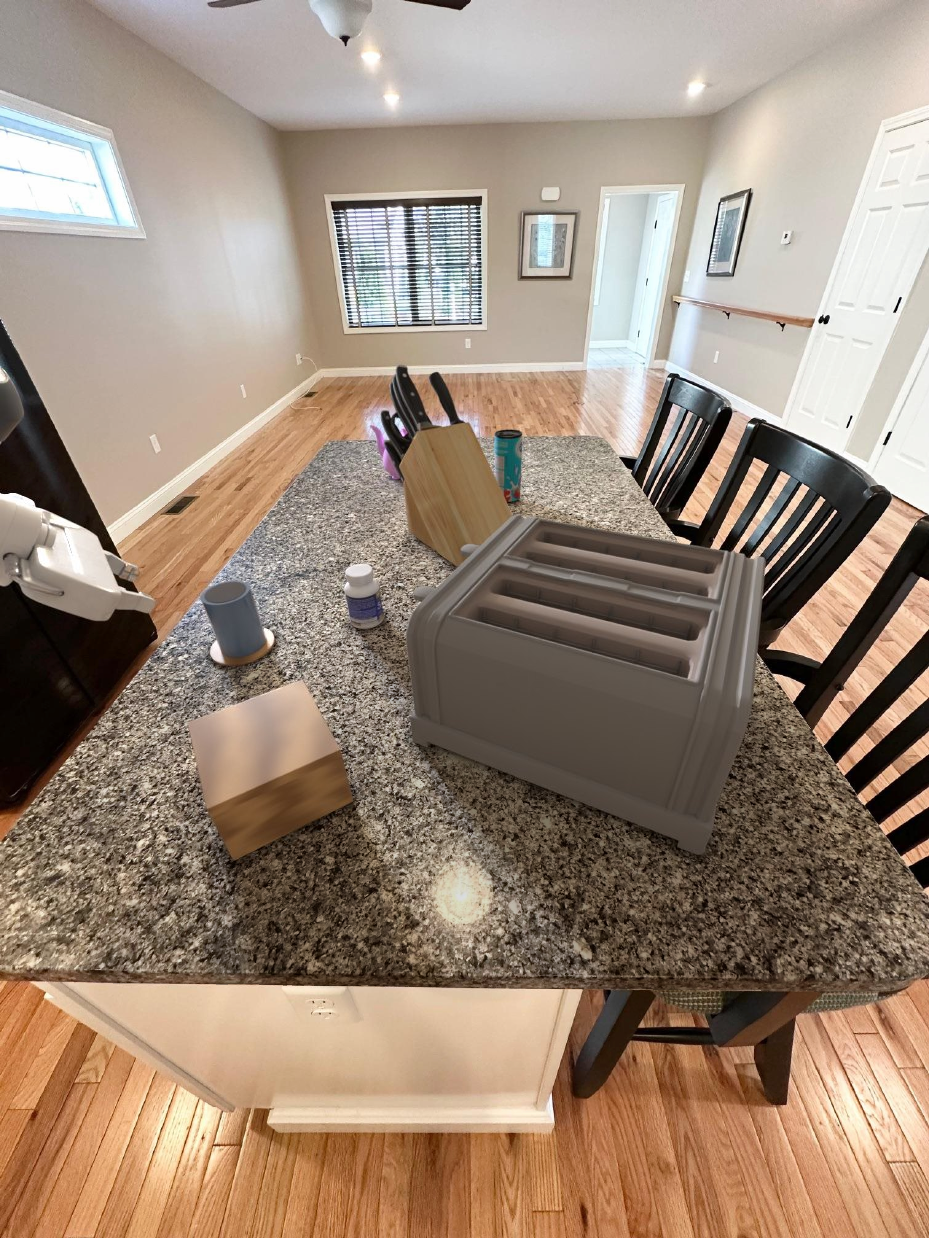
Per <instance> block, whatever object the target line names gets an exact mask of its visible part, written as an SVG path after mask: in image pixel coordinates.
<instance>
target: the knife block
mask: <svg viewBox="0 0 929 1238" xmlns="http://www.w3.org/2000/svg"><path fill="white" fill-rule="evenodd" d="M428 380H429V383H430V386H431V387H432V389H433V391H434V392H435V394H436V395H437V398H438V400H439V403H440V405H441V408H442V409H443V410H444V412H445V414H446V416H447V417H448V420H449V425H445V426H442V425H437V424H433V422H432V420H431V418H429V415H428V414H427V412H426V409H425V406H424V403H423V400H422V398H421V396H420V393H419V391H418V389H417V386H416V385H415V383H414V381H413V380H412V378H411V377H410V373H409V368H408V366H407V365H405V364H397V365H396V367H395V374H394V375H393V376H392V380H391V381H390V382H389V386H388V387H389V394H390V395H389V396H390V398H391V401H392V404H393V407H394V410H395V412H394V413H393V414H392V415H391V413H390V411H389V410H386V409H382V410H381V411H380V415H379V416H380V422H381V425H382V427H383V430H384V432H385V434H386V437H387V438H388V439H387V440H384V446H385V449H386V450H387V452H388V454H389V456H390V458H391V460H392V462H393V464H394V466H395V468H396V470H397V472H398V474H399V476H400V480H401V483H402V484H403V494H404V495H403V496H404V505H405V513H406V521H407V531H408V533H409V534H411V535H412V536H414V537H415V538H417V539H418V540H419V541H421V542H422V543H423V544H425V545H426V546H428V547H430V548H431V549H433V550H434V551H436V552H437V553H438V554H439V555H440V556H442V557H443V558H444V559H446V560H447V561H448V562H450V563H451V564H453V565H454V566H455V567H456V568H458V567H459V566H460V565H461V564H462V563H463V562H464V561H465V560H466V559H467V558H468V557H466V556H463V555H462V554H461V548H462V547H463V546H464V545H467V544H474V545H479V546H481V545H482V544H483V543H484V542H485V541H486V540H487V539H488V538H489V537H490V536H491V535H493V534H494V533H495V532H496V531H497V530H498V529H499V528H500V527H501V526H502V525H503V524H504V523H505V522H506V521H507V520H508V519H509V518H510V517H512V516H513V515H514V514H513V513H512V510H511V509H510V506H509V504H507V502H506V500H505V497H504V495H503V493H502V491H501V489H500V487H499V485H498V482H497V480H496V478H495V473H494V471H493V469H492V468H491V466H490V463H489V460H488V459H487V456H486V454H485V453H484V449H483V448H482V445H481V444H480V441H479V439H478V437H477V435H476V433H475V431H474V429H473V427H472V424H471V423H470V422H468V421H464V420H462V419H460V417H459V415H458V412H457V410H456V406H455V404H454V399H453V397H452V394H451V392H450V390H449V388H448V386H447V384H446V382H445V380H444V377H442V375H441V373H440V372H438V371H434V372H432V373H430V375H429V376H428ZM396 419H399V420H400V422H401V423H402V425H403V427H405V429H406V431H407V432H408V433H407V434H406V435H405V436H402V434H401V432H400V431H401V430H400V429H399V427H398V425H397V424H396ZM389 440H390V441H389Z"/></svg>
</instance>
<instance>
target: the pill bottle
mask: <svg viewBox="0 0 929 1238" xmlns="http://www.w3.org/2000/svg"><path fill="white" fill-rule="evenodd" d="M344 573H345V579H346V582H345V585H344V587H343V591H344V596H345V601H346V606H347V610H348V616H349V617H348V618H349V622H350V624H351V626H353V627H354V628H357V629H362V630H366V629H373V628H375V627H377V626H379V625H380V624H381V623H382V622H383V621H384V618H385V615H384V608H383V602H382V593H381V587H380V583H379V581H378V580H377V579H376V578H375V576H374V575H375V574H374V570H373V567H372V566H371V565H369V564H366V563H358V564H357V563H356V564H353V565H351V566H349V567H347V568H346V569H345V572H344Z"/></svg>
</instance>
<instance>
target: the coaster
mask: <svg viewBox="0 0 929 1238" xmlns="http://www.w3.org/2000/svg"><path fill="white" fill-rule="evenodd" d="M263 629H264V632H265V635H266V643H265V645H264V646H263V647H262V648H261V649H260V650H258V651H257V652H255V653H253V654H251V655H248V656H245V657H239V658H231V657H227V656H225V655H223V654H222V652H221V650H220V648H219V645H218V642H217V640H215V641H214V642H213V643H212V645H211V647H210V650H209V655H210V658H211V660H212V661H213V662H214V663H216V664H218V665H220V666H223V667H224V666H225V667H226V666H227V667H237V666H243V665H247V664H250V663H253V662H255V661H257V660H259V659H261V658H263V657H264V656H266V655H267V654H268V653H269V652H270V651H271V650H272V648H273V647H274V646H275V643H276V639H275V638H276V637H275V634H274V633H273V632H272V631H271V630H270V629H268V628H266V627H263Z"/></svg>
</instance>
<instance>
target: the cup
mask: <svg viewBox="0 0 929 1238" xmlns="http://www.w3.org/2000/svg"><path fill="white" fill-rule="evenodd" d="M200 601H201V604H202V607H203V609H204V611H205V614H206V616H207V619H208V622H209V624H210V627H211V629H212V632H213V635H214V637H215V639H216V640H217V642H218V645H219V648H220V650H221V652H222V654H223V655H225V656H227V657H231V658H239V657H245V656H248V655H251V654H253V653H255V652H257V651H258V650H260V649H261V648H262V647H263V646H264V645H265V643H266V635H265V632H264V629H263V628H264V627H263V623H262V620H261V617H260V613H259V611H258V607H257V604H256V600H255V598H254V595H253V592H252V589H251V585H250V584H249V583H248V582H247V581H244V580H237V579H236V580H235V579H233V580H226V581H221V582H218V583H215V584H213V585H210V586H209V587H208V588H206V589H205V590H204V591H203V592H202V593H201V595H200ZM216 640H215V641H216Z"/></svg>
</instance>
